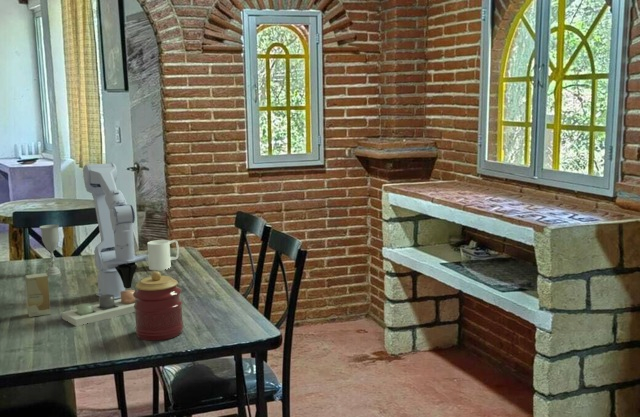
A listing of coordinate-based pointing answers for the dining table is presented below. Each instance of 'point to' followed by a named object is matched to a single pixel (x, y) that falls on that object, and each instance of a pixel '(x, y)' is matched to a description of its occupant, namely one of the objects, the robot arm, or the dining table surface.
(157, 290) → the canister
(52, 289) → the dining table surface
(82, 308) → the sage button
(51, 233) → the chalice
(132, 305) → the panel
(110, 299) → the charcoal button
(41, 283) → the skincare box
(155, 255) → the cup
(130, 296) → the terracotta button
